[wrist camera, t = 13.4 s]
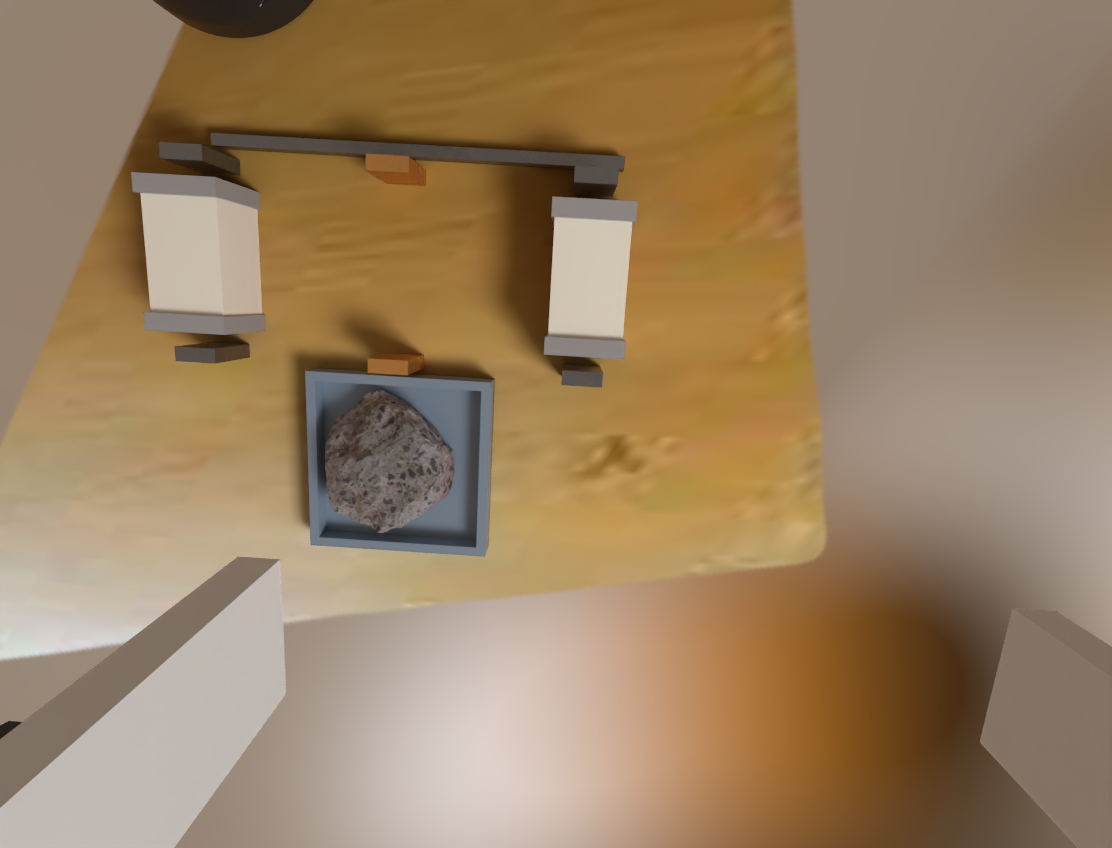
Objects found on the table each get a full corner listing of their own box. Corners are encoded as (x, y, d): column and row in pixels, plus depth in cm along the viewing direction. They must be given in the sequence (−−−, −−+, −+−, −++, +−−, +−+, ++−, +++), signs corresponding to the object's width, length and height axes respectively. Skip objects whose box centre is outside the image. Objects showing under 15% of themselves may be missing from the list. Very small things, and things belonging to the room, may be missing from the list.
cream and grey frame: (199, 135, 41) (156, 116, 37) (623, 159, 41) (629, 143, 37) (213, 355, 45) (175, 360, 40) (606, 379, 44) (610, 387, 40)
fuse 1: (185, 188, 42) (130, 172, 37) (259, 192, 42) (214, 176, 37) (195, 326, 44) (145, 329, 39) (265, 330, 44) (224, 334, 39)
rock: (348, 520, 47) (328, 541, 43) (335, 388, 44) (313, 396, 40) (458, 519, 46) (447, 540, 42) (450, 386, 44) (438, 394, 40)
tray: (316, 367, 45) (305, 370, 43) (494, 378, 45) (491, 382, 43) (321, 534, 48) (310, 545, 46) (488, 545, 47) (484, 556, 45)
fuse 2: (554, 209, 42) (552, 196, 37) (629, 214, 42) (637, 201, 37) (547, 348, 44) (543, 354, 39) (618, 352, 44) (624, 359, 39)
